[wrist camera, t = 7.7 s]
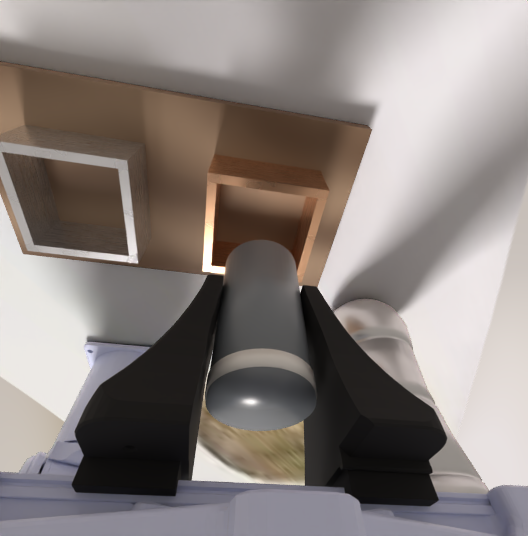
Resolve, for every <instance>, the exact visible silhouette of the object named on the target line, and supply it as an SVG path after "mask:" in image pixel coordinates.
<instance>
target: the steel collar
mask: <svg viewBox="0 0 528 536" xmlns="http://www.w3.org/2000/svg"><path fill="white" fill-rule="evenodd" d="M43 158H48V159H55V160H61V161H68V162H75V163H82V164H89V165H96V166H102V167H109V168H116V169H118V172H119V180H120V188H121V195H122V203H123V211H124V219H125V227H126V229H122V228H114V227H106V226H99V225H91V224H83V223H75V222H67V221H60V219H59V215H58V212H57V208H56V204H55V201H54V197H53V193H52V190H51V186H50V182H49V179H48V175H47V171H46V168H45V164H44V160H43ZM0 177H1V180H2V182H3V185H4V188H5V191H6V193H7V196H8V199H9V201H10V204H11V207H12V210H13V212H14V215H15V218H16V221H17V223H18V226H19V229H20V231H21V234H22V237H23V240H24V242H25V245H26V248H27V250H28V251H34V252H42V253H51V254H59V255H68V256H77V257H85V258H94V259H103V260H111V261H120V262H128V263H137V264H138V263H139V262H140V260H141V258H142V256H143V254H144V252H145V250H146V248H147V246H148V244H149V242H150V240H151V239H152V236H151V222H150V208H149V194H148V180H147V166H146V152H145V143H139V142H133V141H126V140H120V139H113V138H107V137H101V136H94V135H88V134H81V133H75V132H69V131H62V130H56V129H49V128H43V127H37V126H30V125H22V126H20V127H17V128H15V129H12V130H10V131H7V132H5V133H2V134H0Z"/></svg>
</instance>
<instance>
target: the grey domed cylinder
mask: <svg viewBox="0 0 528 536" xmlns="http://www.w3.org/2000/svg"><path fill="white" fill-rule="evenodd" d="M205 400H206V407H207V410H208V411H209V413H210V414H211V415H212V416H213V417H214V418H215V419H217V420H218V421H220V422H222V423H224V424H226V425H228V426H231V427H235V428H239V429H244V430H252V431H268V430H277V429H282V428H286V427H289V426H292V425H295V424H297V423H299V422H301V421H303V420H304V419H306V418H307V417H308V416H310V415H311V413H312V412H313V411H314V409H315V407H316V402H317V401H316V400H317V390H316V383H315V377H314V373H313V370H312V368H311V361H310V355H309V348H308V342H307V335H306V329H305V322H304V316H303V309H302V303H301V296H300V290H299V283H298V277H297V270H296V264H295V260H294V258H293V256H292V254H291V253H290V252H289V251H288V249H286V248H285V247H284V246H282V245H281V244H278V243H276V242H273V241H269V240H252V241H248V242H245V243H243V244H241V245H239V246H238V247H236V248H235V249H234V250H233V251H232V252H231V253H230V254H229V256H228V258H227V261H226V265H225V272H224V280H223V289H222V296H221V303H220V307H219V313H218V320H217V327H216V333H215V340H214V347H213V354H212V361H211V368H210V371H209V373H208V378H207V384H206V391H205Z"/></svg>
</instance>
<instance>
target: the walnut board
mask: <svg viewBox="0 0 528 536" xmlns="http://www.w3.org/2000/svg"><path fill="white" fill-rule="evenodd" d="M22 125H30V126H37V127H43V128H49V129H56V130H62V131H69V132H75V133H81V134H88V135H94V136H101V137H107V138H113V139H120V140H126V141H133V142H139V143H145V152H146V166H147V180H148V194H149V208H150V222H151V236H152V239H151V240H150V242H149V244H148V246H147V248H146V250H145V252H144V254H143V256H142V258H141V260H140V262H139V263H138V264H137V263H128V262H120V261H111V260H103V259H94V258H85V257H77V256H68V255H59V254H51V253H42V252H34V251H28V250H27V248H26V245H25V242H24V240H23V237H22V234H21V231H20V229H19V226H18V223H17V221H16V218H15V215H14V212H13V210H12V207H11V204H10V201H9V199H8V196H7V193H6V191H5V188H4V185H3V182H2V180H1V177H0V194H1V197H2V199H3V202H4V205H5V207H6V210H7V212H8V215H9V218H10V220H11V223H12V226H13V228H14V231H15V234H16V236H17V239H18V241H19V244H20V247H21V249H22V252H23V254H29V255H37V256H46V257H55V258H63V259H72V260H81V261H90V262H98V263H107V264H116V265H124V266H133V267H142V268H151V269H159V270H168V271H177V272H185V273H194V274H203V275H209V274H213V275H221V276H224V274H223V273H215V272H206V271H203V255H204V235H205V215H206V195H207V175H208V170H209V167H210V165H211V162H212V159H213V157H214V154H216V155H222V156H229V157H235V158H242V159H248V160H254V161H261V162H267V163H274V164H280V165H286V166H293V167H299V168H306V169H312V170H319V171H321V173H322V175H323V177H324V179H325V182H326V184H327V186H328V188H329V194H328V198H327V201H326V204H325V208H324V211H323V214H322V217H321V221H320V224H319V227H318V231H317V234H316V237H315V240H314V244H313V247H312V250H311V254H310V257H309V260H308V263H307V267H306V270H305V273H304V277H303V280H302V283H301V282H298V283H299V286H303V285H308V286H316V287H317V286H318V283H319V281H320V278H321V275H322V272H323V269H324V266H325V263H326V260H327V258H328V255H329V252H330V249H331V246H332V243H333V240H334V237H335V235H336V232H337V229H338V226H339V223H340V220H341V217H342V215H343V212H344V209H345V206H346V203H347V200H348V197H349V194H350V192H351V189H352V186H353V183H354V180H355V177H356V174H357V171H358V169H359V166H360V163H361V160H362V157H363V154H364V151H365V148H366V146H367V143H368V140H369V137H370V134H371V131H372V129H371V128H370V127H368V126H367V125H362V124H356V123H350V122H345V121H339V120H333V119H327V118H322V117H316V116H310V115H305V114H299V113H293V112H287V111H282V110H276V109H270V108H265V107H259V106H253V105H247V104H242V103H236V102H230V101H225V100H219V99H213V98H207V97H202V96H196V95H190V94H184V93H179V92H173V91H167V90H162V89H156V88H150V87H144V86H139V85H133V84H127V83H122V82H116V81H110V80H104V79H99V78H93V77H87V76H82V75H76V74H70V73H64V72H59V71H53V70H47V69H42V68H36V67H30V66H24V65H19V64H13V63H7V62H2V61H0V134H2V133H5V132H7V131H10V130H12V129H15V128H17V127H20V126H22ZM43 160H44V164H45V168H46V171H47V175H48V179H49V182H50V186H51V190H52V193H53V197H54V201H55V204H56V208H57V212H58V215H59V219H60V221H67V222H75V223H83V224H91V225H99V226H106V227H114V228H122V229H126V227H125V219H124V211H123V203H122V195H121V188H120V180H119V172H118V169H116V168H109V167H102V166H96V165H89V164H82V163H75V162H68V161H61V160H55V159H48V158H43ZM305 198H306V196H301V195H294V194H287V193H280V192H273V191H266V190H260V189H253V188H246V187H239V186H232V185H225V184H221V186H220V199H219V212H218V225H217V238H216V240H217V241H225V242H233V243H240V244H243V243H245V242H248V241H252V240H269V241H273V242H276V243H278V244H281V245H282V246H284V247H285V248H286V249H288V250H292V248H293V244H294V241H295V237H296V233H297V229H298V225H299V221H300V217H301V214H302V210H303V206H304V202H305Z"/></svg>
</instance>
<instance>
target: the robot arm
mask: <svg viewBox="0 0 528 536" xmlns="http://www.w3.org/2000/svg"><path fill="white" fill-rule="evenodd" d="M223 280H224V276H221V275H213V274H209V275H208V276H207V278H206V280H205V282H204V284H203V286H202V287H201V289H200V291H199V292H198V294H197V295H196V297H195V298H194V300H193V301H192V303H191V304H190V305H189V307H188V308H187V309H186V311H185V312H184V313H183V314H182V315H181V317H180V318H179V319H178V320H177V321H176V323H175V324H174V325H173V326H172V327H171V328H170V329H169V330H168V331H167V332H166V333H165V334H164V335H163V336H162V337H161V338H160V339H159V340H158V341H157V342H156V343H155V344H154V345H153V346H151V347H144V346H133V345H122V344H110V343H99V342H86V343H85V345H84V349H85V352H86V355H87V359H88V362H89V365H90V369H91V370H90V372H89V374H88V376H87V378H86V380H85V382H84V384H83V386H82V388H81V390H80V392H79V394H78V396H77V398H76V400H75V402H74V404H73V406H72V408H71V410H70V412H69V414H68V416H67V418H66V420H65V422H64V424H63V426H62V428H61V431H60V433H59V435H58V436H57V439H56V441H55V442H54V445H53V447H52V448H51V449H50V451H49V452H48V453H47V455H46V453H44V452H38V453H37V454H36V455H35V456H32V457H30V458H28V459H27V460H26V461H25V462H24V464H23V466H22V467H21V470H20V471H19V473H11V472H10V473H9V472H0V536H528V486H513V485H504V486H503V485H502V486H498V487H495V488H493V489H491V490H490V491H488V493H487V494H478V493H456V492H436V491H435V488H434V486H433V483H432V480H431V478H430V475H429V474H432V473H433V470H432V467H431V465H430V462H429V460H430V459H431V458H432V457H433V456H434V455H435V454H436V453H438V452H439V451H440V450H441V449H442V448H443V447H444V446H445V444H446V442H447V435H446V433H445V431H444V429H443V426H442V424H441V422H440V420H439V418H438V416H437V414H436V412H435V410H434V409H433V408H432V407H431V406H429V405H428V404H426V403H425V402H424V401H422V400H421V399H419V398H418V397H416V396H415V395H414V394H412V393H411V392H410V391H408V390H407V389H406V388H404V387H403V386H402V385H401V384H399V383H398V382H397V381H396V380H394V379H393V378H392V377H391V376H390V375H389V374H387V373H386V372H385V371H384V370H383V369H382V368H381V367H380V366H379V365H378V364H377V363H375V362H374V361H373V360H372V359H371V358H370V357H369V356H368V355H367V354H366V352H365V351H364V350H363V349H362V348H361V347H360V346H359V345H358V344H357V343H356V342H355V340H354V339H353V338H352V337H351V336H350V334H349V333H348V332H347V331H346V329H345V328H344V327H343V325H342V324H341V323H340V321H339V320H338V318H337V317H336V316H335V314H334V313H333V311H332V310H331V308H330V307H329V305H328V304H327V302H326V301H325V299H324V298H323V296H322V294H321V293H320V291H319V290H318V288H317V287H316V286H308V285H303V286H302V290H301V293H300V296H301V303H302V309H303V316H304V322H305V329H306V335H307V342H308V348H309V355H310V361H311V368H312V370H313V373H314V377H315V383H316V390H317V400H316V401H317V402H316V407H315V409H314V411H313V412H312V413H311V415H310V416H308V417H307V418H306V419H304V446H305V486H300V485H278V484H256V483H233V482H211V481H191V480H192V473H193V466H194V459H195V451H196V444H197V437H198V430H199V423H200V416H201V409H202V402H203V395H204V388H205V382H206V377H207V372H208V368H209V364H210V360H211V356H212V352H213V347H214V340H215V333H216V327H217V320H218V313H219V307H220V303H221V296H222V289H223Z"/></svg>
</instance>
